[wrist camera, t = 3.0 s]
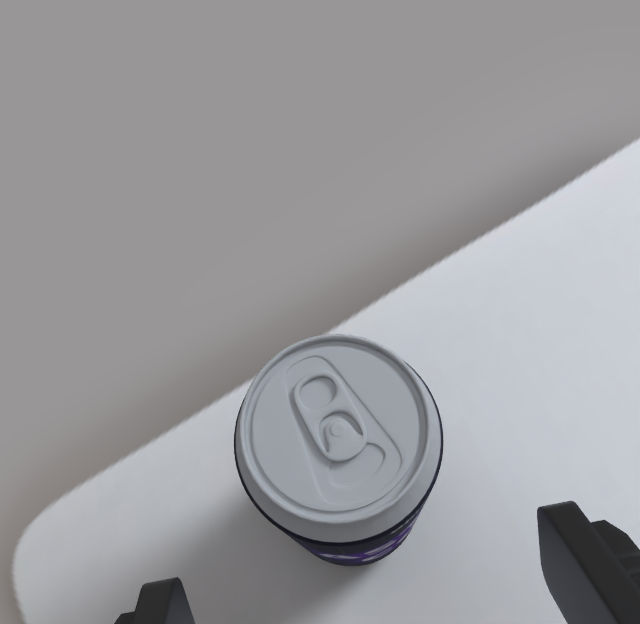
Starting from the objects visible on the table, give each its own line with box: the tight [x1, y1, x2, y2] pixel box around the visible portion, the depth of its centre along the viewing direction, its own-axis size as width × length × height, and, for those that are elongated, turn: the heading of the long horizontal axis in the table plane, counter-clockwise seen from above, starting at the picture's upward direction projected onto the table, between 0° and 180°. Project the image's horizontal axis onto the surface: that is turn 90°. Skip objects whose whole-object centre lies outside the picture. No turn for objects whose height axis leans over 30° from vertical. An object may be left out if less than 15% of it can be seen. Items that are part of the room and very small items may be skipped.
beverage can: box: [234, 334, 443, 566], centre depth 21 cm, size 6×6×12 cm
